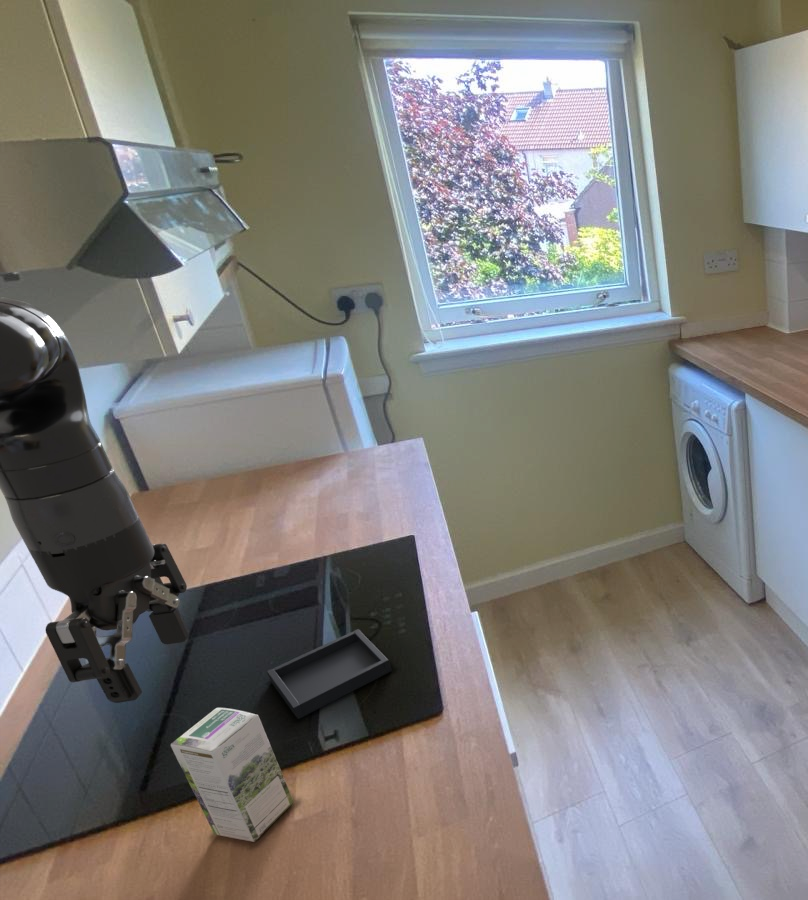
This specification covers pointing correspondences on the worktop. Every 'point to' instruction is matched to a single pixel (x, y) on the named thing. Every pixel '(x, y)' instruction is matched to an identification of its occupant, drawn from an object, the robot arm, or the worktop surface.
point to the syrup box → (233, 773)
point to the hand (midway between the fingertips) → (153, 668)
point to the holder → (328, 672)
